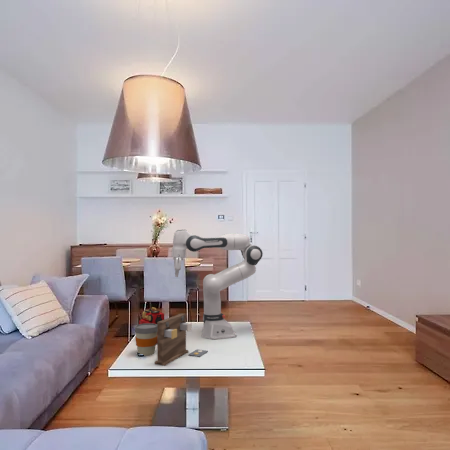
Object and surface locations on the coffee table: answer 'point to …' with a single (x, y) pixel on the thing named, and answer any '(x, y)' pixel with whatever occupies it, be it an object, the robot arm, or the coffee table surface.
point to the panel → (170, 340)
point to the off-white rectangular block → (186, 326)
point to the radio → (151, 316)
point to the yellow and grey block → (170, 333)
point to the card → (198, 353)
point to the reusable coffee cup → (146, 338)
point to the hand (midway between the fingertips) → (176, 276)
